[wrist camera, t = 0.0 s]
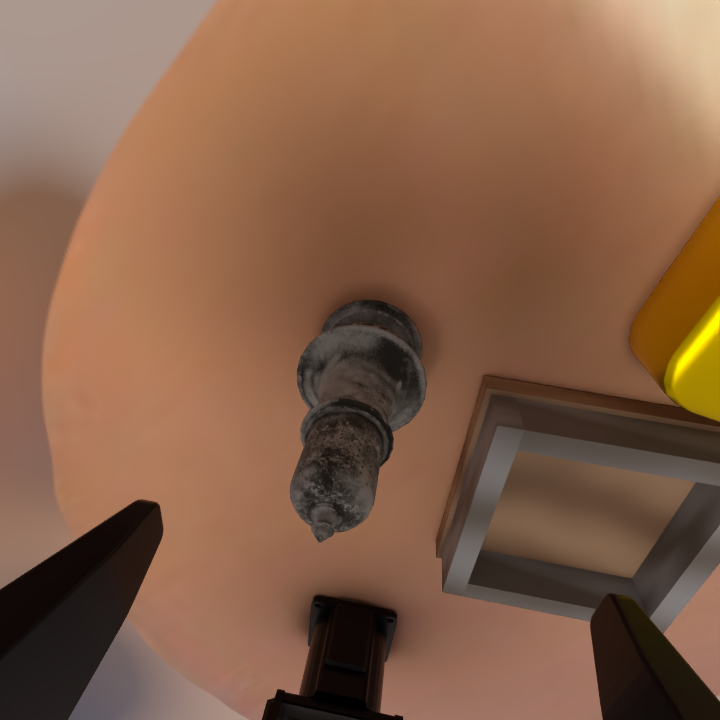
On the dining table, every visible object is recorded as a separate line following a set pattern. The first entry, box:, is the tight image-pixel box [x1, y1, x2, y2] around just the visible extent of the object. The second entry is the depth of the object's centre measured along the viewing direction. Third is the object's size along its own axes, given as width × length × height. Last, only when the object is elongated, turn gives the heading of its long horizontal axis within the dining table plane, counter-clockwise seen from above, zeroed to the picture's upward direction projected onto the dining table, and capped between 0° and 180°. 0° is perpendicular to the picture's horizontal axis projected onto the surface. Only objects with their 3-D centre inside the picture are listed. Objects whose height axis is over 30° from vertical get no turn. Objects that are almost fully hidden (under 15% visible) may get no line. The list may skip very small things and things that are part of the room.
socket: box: [436, 376, 720, 633], centre depth 25 cm, size 13×13×4 cm
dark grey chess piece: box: [290, 300, 427, 542], centre depth 18 cm, size 6×6×12 cm
